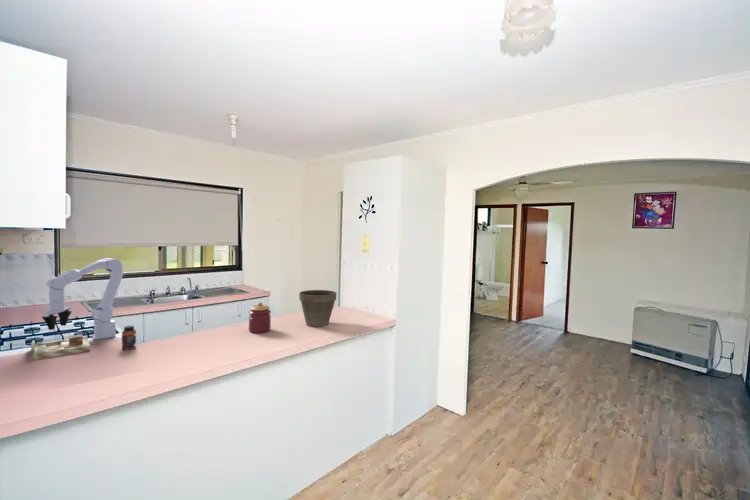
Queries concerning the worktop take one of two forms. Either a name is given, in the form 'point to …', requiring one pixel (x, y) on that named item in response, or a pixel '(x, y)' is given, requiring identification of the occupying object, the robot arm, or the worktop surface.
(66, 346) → the box
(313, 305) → the plant pot
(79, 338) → the walnut block
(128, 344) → the supplement bottle
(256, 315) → the canister
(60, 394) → the worktop surface
